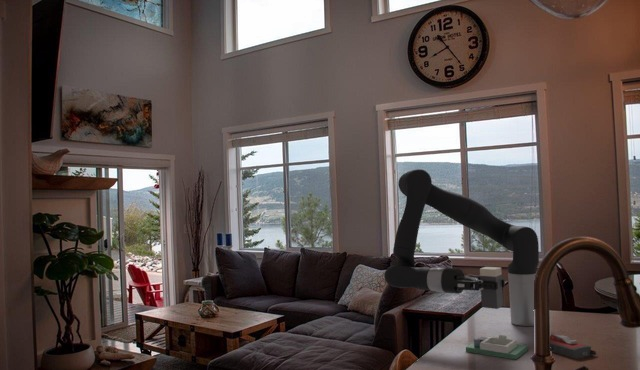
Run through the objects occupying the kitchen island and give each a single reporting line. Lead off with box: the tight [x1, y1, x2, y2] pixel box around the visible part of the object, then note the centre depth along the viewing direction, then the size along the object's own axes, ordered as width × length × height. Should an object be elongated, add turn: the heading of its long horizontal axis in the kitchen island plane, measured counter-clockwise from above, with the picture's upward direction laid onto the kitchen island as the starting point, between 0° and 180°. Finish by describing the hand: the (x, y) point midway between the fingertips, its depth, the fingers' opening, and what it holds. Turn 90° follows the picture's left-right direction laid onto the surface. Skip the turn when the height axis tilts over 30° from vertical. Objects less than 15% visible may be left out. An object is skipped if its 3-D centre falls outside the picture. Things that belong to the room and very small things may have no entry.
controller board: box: [465, 334, 529, 360], centre depth 140 cm, size 10×14×4 cm
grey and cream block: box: [479, 266, 504, 310], centre depth 141 cm, size 4×4×11 cm
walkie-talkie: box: [549, 333, 597, 360], centre depth 140 cm, size 9×4×20 cm
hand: (500, 284), depth 140 cm, fingers closed on grey and cream block, 4 cm apart
